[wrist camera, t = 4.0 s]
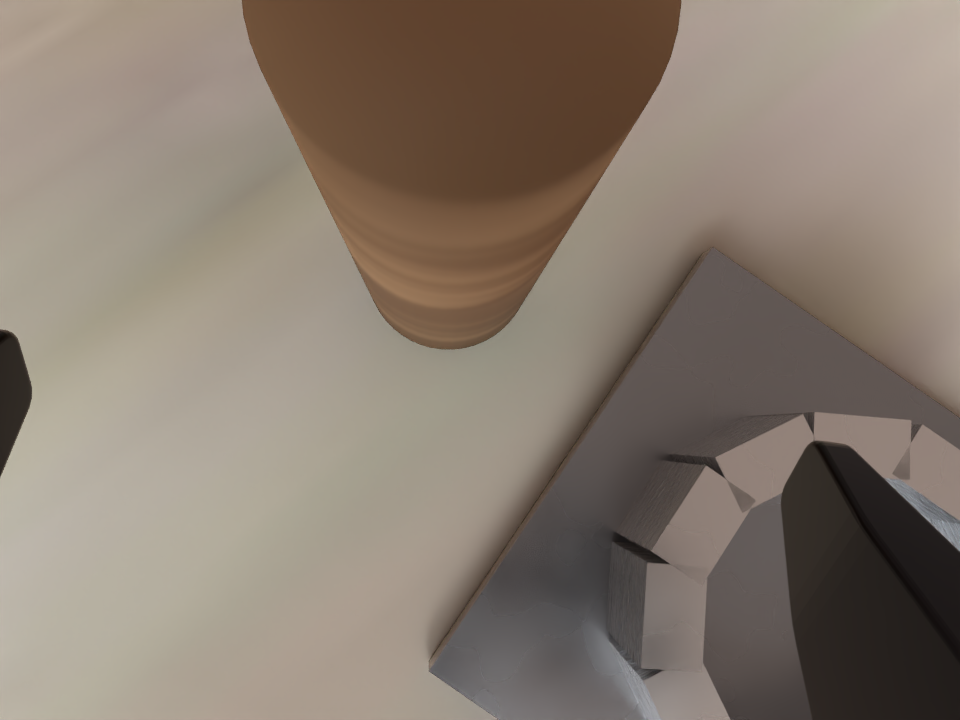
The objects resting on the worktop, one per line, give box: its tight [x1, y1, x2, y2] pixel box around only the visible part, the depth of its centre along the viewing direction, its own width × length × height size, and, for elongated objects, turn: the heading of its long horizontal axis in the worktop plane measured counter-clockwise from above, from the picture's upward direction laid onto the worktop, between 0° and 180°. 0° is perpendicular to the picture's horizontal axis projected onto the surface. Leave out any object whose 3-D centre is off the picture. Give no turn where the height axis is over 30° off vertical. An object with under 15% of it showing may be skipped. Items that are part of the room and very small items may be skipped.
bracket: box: [429, 247, 960, 720], centre depth 18 cm, size 12×12×4 cm
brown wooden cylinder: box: [242, 0, 681, 349], centre depth 14 cm, size 4×4×13 cm
